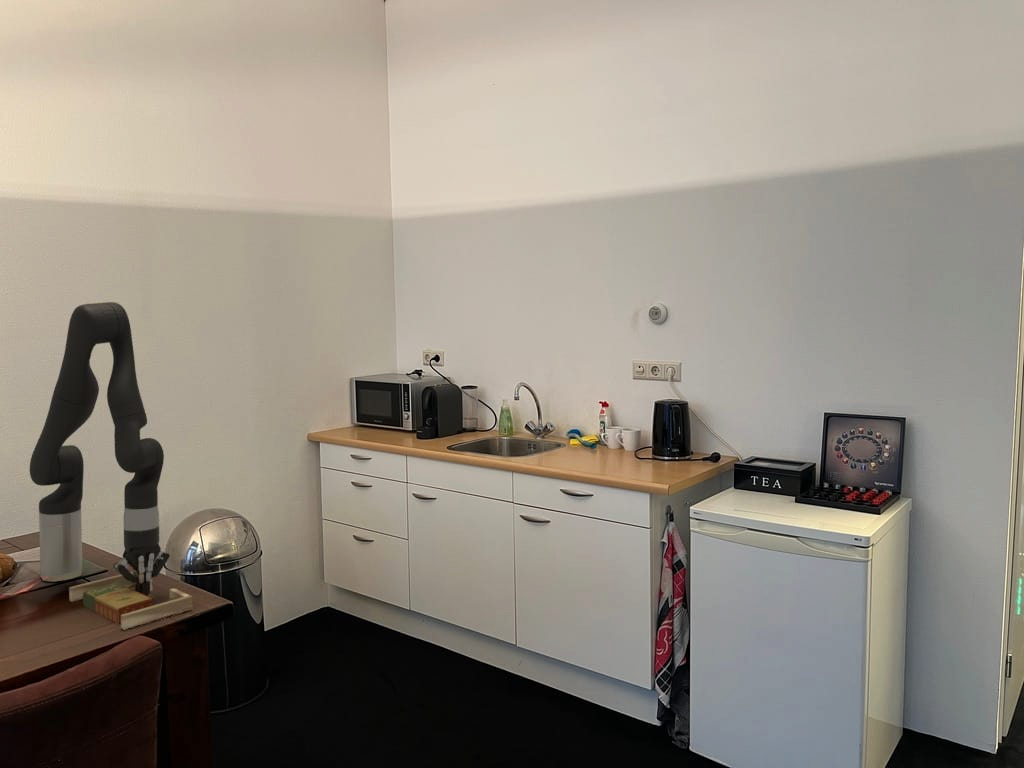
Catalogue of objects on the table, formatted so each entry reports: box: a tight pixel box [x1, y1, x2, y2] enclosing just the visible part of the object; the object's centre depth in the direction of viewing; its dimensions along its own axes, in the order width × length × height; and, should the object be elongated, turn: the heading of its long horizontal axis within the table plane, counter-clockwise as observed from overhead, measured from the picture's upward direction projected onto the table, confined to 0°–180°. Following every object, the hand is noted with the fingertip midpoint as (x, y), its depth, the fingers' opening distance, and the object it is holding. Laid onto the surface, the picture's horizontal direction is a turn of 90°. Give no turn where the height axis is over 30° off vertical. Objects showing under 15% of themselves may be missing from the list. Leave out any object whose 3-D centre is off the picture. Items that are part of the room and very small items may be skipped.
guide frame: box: [68, 571, 193, 631], centre depth 188 cm, size 25×16×3 cm, turn 52°
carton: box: [82, 582, 154, 625], centre depth 185 cm, size 8×16×4 cm, turn 53°
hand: (142, 596), depth 191 cm, fingers closed
